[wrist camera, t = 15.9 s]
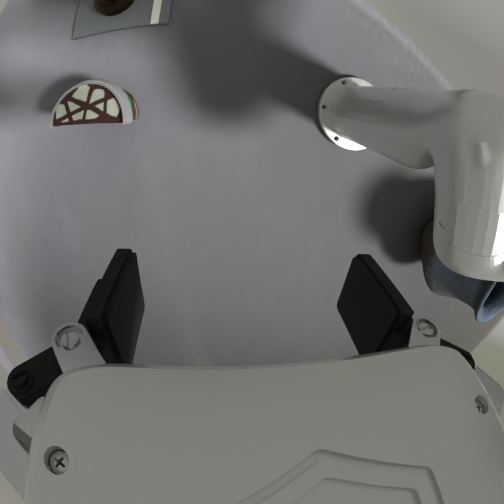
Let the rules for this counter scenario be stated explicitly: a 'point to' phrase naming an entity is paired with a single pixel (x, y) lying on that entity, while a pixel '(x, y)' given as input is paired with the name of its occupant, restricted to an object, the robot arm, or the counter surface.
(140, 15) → the mat
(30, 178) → the counter surface
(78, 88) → the food container
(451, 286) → the pitcher
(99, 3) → the brown wooden turned post
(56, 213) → the counter surface
